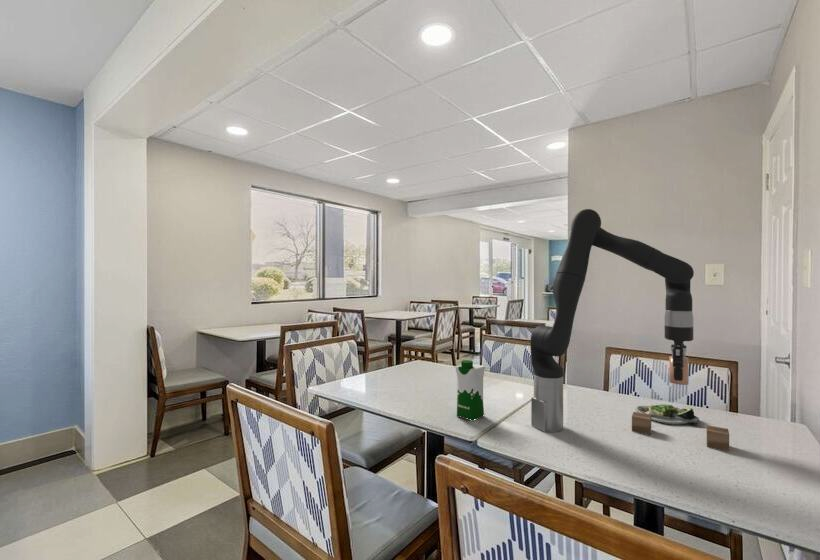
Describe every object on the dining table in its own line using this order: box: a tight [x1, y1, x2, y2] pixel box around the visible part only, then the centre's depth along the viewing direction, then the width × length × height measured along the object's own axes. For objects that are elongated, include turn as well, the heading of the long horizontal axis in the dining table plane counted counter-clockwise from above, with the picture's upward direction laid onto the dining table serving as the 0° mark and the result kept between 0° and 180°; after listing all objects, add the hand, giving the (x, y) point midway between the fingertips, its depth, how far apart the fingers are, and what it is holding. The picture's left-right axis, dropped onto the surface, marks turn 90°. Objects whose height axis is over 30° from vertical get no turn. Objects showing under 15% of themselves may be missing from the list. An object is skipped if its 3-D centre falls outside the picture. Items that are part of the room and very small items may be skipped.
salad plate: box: [635, 403, 702, 426], centre depth 137 cm, size 19×18×5 cm
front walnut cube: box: [706, 424, 730, 452], centre depth 114 cm, size 5×5×5 cm
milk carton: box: [455, 359, 486, 420], centre depth 139 cm, size 9×9×20 cm
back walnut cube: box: [631, 411, 652, 436], centre depth 126 cm, size 5×5×5 cm
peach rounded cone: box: [668, 355, 690, 386], centre depth 123 cm, size 5×5×8 cm
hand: (678, 378), depth 123 cm, fingers closed on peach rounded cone, 5 cm apart
